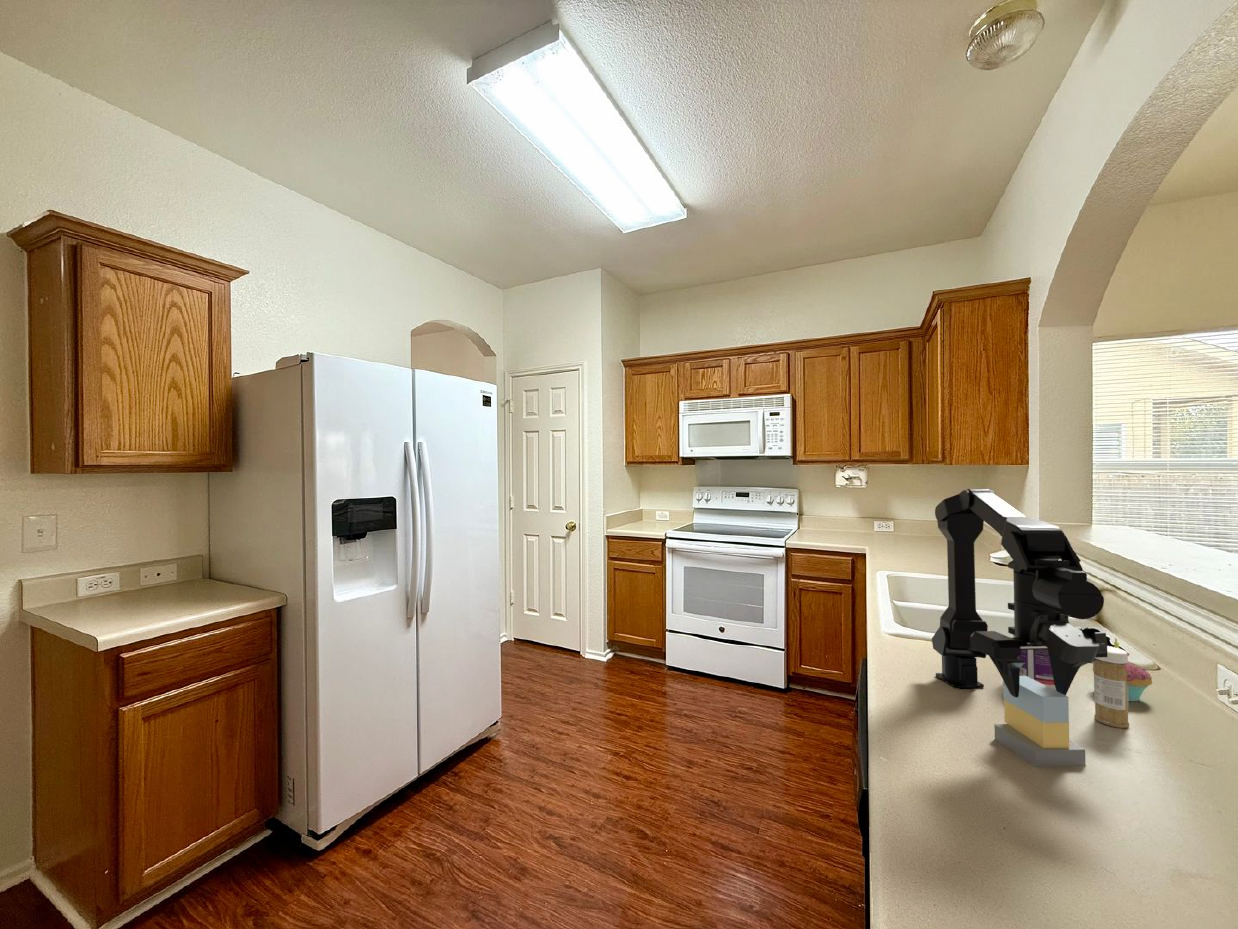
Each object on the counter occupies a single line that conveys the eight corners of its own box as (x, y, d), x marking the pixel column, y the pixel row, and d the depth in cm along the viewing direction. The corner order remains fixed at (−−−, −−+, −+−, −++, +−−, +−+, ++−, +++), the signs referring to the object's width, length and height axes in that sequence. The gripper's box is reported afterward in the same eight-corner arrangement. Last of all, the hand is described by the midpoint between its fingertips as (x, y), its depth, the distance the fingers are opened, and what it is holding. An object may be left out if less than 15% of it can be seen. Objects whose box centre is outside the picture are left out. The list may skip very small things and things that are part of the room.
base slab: (994, 741, 84) (994, 724, 84) (1039, 740, 84) (1039, 723, 84) (1035, 770, 76) (1035, 750, 76) (1085, 768, 76) (1085, 749, 76)
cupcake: (1142, 709, 94) (1141, 647, 94) (1084, 692, 101) (1083, 634, 101) (1159, 699, 98) (1157, 639, 98) (1102, 683, 105) (1101, 627, 105)
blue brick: (1003, 699, 85) (1003, 676, 85) (1026, 699, 85) (1025, 675, 85) (1043, 722, 77) (1043, 697, 77) (1068, 722, 77) (1068, 697, 77)
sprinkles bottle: (1132, 724, 88) (1130, 649, 89) (1125, 732, 86) (1124, 655, 86) (1097, 714, 92) (1096, 642, 92) (1090, 721, 90) (1088, 647, 90)
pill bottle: (1068, 686, 104) (1067, 618, 104) (1056, 696, 99) (1055, 625, 100) (1021, 673, 111) (1020, 609, 111) (1008, 682, 106) (1007, 616, 106)
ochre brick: (1004, 722, 85) (1004, 698, 85) (1027, 722, 85) (1027, 699, 85) (1043, 748, 77) (1043, 722, 77) (1069, 748, 77) (1068, 722, 77)
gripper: (1023, 616, 72) (1025, 722, 72) (1144, 614, 73) (1146, 719, 73) (967, 597, 83) (968, 689, 83) (1072, 595, 84) (1074, 686, 84)
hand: (1037, 696), depth 81 cm, fingers open, 8 cm apart
